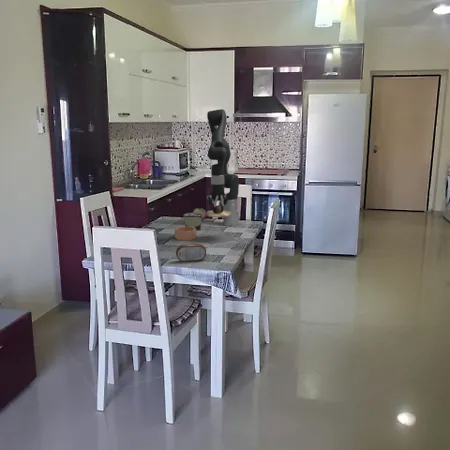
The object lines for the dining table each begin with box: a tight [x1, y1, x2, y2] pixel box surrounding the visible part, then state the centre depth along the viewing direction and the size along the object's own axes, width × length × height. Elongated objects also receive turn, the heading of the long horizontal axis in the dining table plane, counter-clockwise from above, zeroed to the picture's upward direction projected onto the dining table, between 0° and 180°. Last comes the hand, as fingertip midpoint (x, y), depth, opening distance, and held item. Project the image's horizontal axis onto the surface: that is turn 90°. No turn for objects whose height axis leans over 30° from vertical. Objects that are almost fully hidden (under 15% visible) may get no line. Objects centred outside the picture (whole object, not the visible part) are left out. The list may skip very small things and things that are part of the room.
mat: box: [199, 233, 238, 245], centre depth 269 cm, size 17×17×1 cm
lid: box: [205, 204, 231, 218], centre depth 265 cm, size 15×15×5 cm
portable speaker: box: [175, 243, 207, 263], centre depth 230 cm, size 15×3×8 cm, turn 99°
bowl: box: [174, 225, 197, 241], centre depth 270 cm, size 12×12×6 cm
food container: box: [183, 212, 203, 232], centre depth 291 cm, size 12×6×10 cm, turn 84°
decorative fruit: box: [192, 206, 207, 221], centre depth 312 cm, size 9×8×10 cm
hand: (218, 212), depth 265 cm, fingers closed on lid, 3 cm apart
